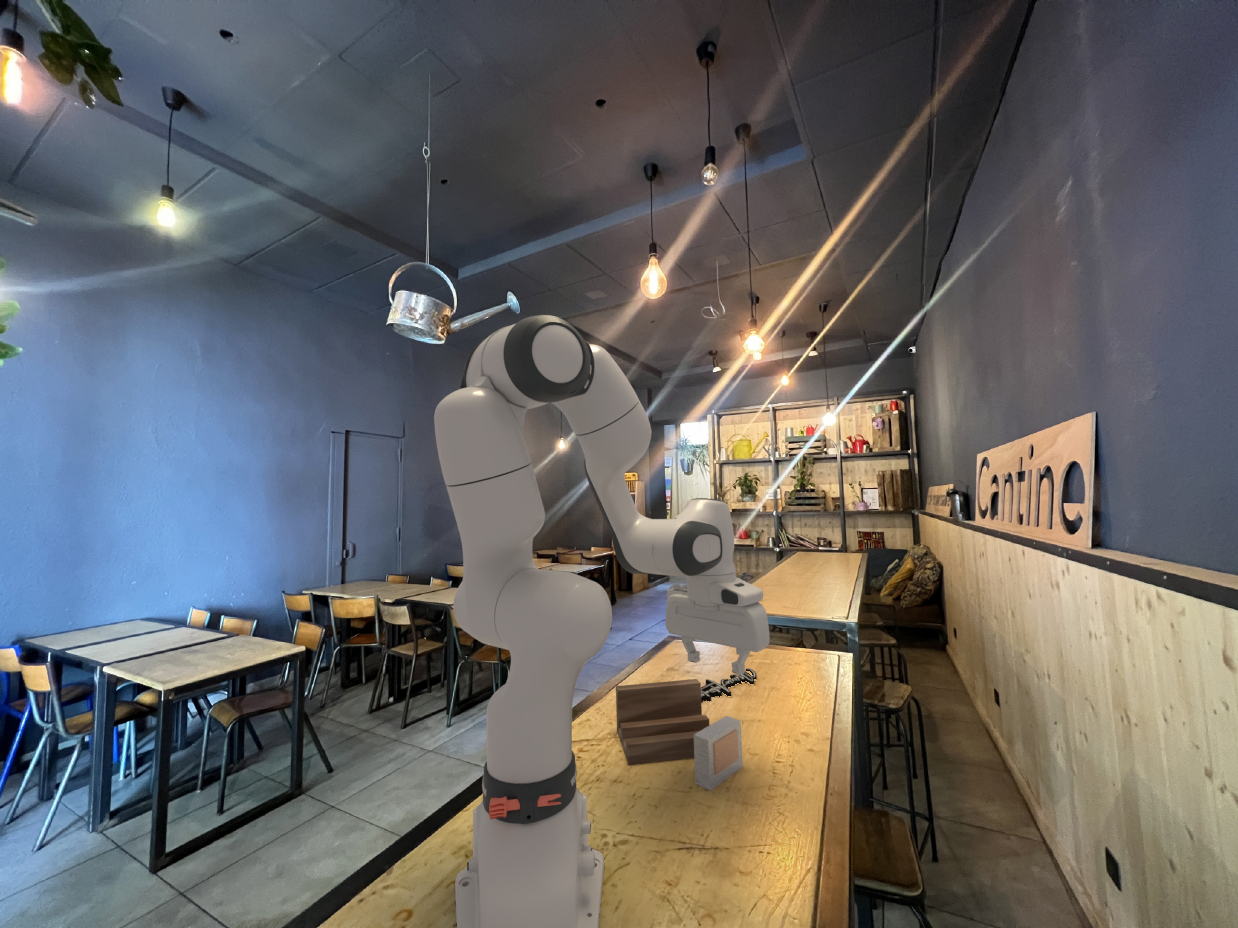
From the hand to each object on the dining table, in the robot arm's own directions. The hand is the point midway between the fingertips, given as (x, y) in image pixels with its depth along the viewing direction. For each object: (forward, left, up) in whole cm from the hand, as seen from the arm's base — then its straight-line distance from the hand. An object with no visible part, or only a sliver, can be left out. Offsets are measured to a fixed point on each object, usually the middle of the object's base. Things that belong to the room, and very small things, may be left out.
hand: (715, 667), depth 85 cm
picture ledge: (+13, +6, -18) cm, 23 cm away
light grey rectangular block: (0, 0, -18) cm, 18 cm away
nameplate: (+38, -16, -19) cm, 45 cm away
